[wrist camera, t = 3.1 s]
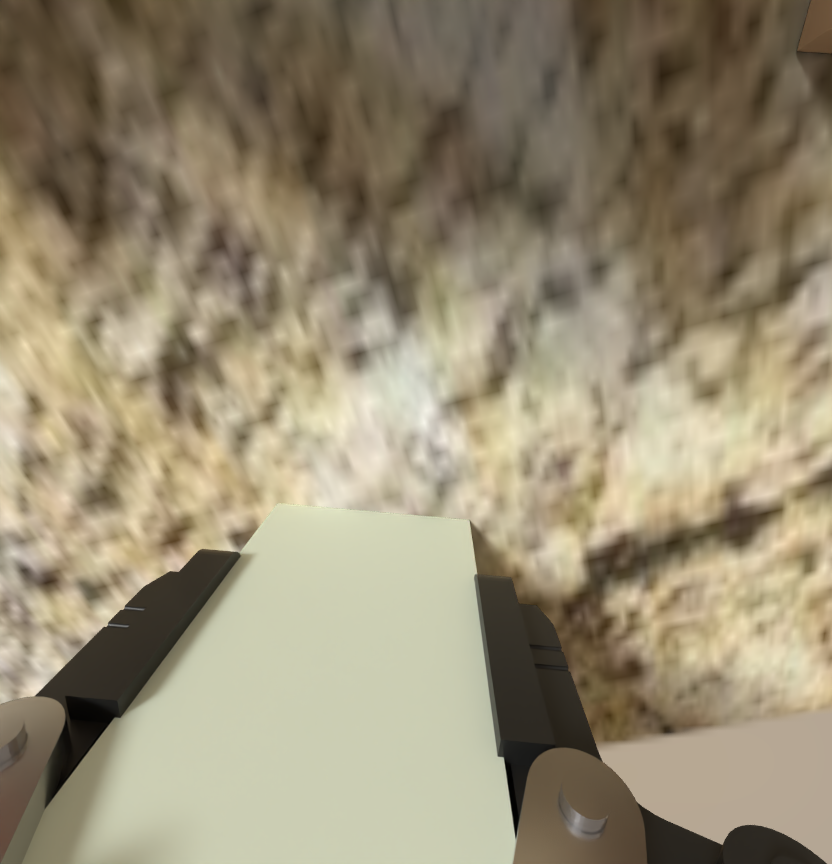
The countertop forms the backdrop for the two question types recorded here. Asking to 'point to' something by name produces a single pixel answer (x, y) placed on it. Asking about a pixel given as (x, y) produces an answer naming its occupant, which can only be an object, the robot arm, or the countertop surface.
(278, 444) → the countertop surface
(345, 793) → the domino
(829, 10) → the block
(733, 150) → the countertop surface
